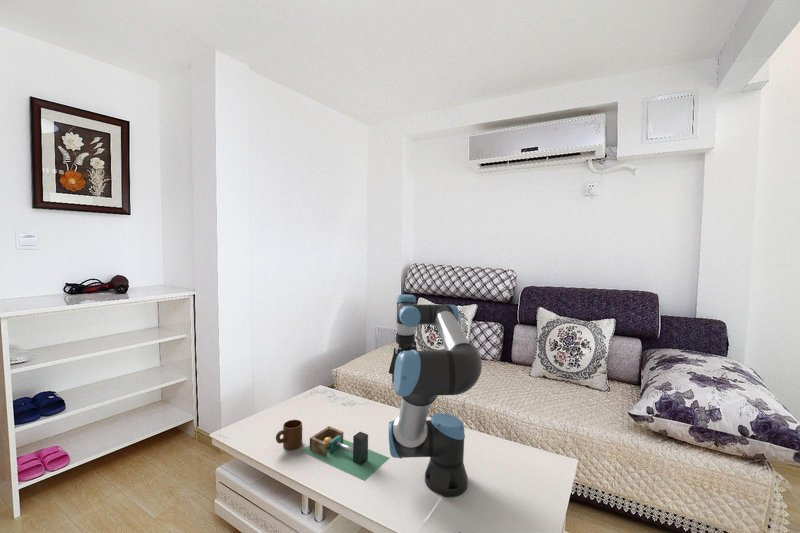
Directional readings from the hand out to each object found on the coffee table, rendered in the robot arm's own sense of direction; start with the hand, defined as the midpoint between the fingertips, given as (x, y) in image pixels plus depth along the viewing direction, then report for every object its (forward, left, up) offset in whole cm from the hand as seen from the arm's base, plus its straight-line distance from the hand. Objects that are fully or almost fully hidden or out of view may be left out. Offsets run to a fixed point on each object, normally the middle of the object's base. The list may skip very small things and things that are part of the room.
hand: (404, 384), depth 146 cm
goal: (+26, +18, -26) cm, 41 cm away
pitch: (+16, +18, -27) cm, 36 cm away
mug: (+38, +27, -27) cm, 54 cm away
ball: (+25, +18, -24) cm, 39 cm away
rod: (+14, +18, -26) cm, 35 cm away
